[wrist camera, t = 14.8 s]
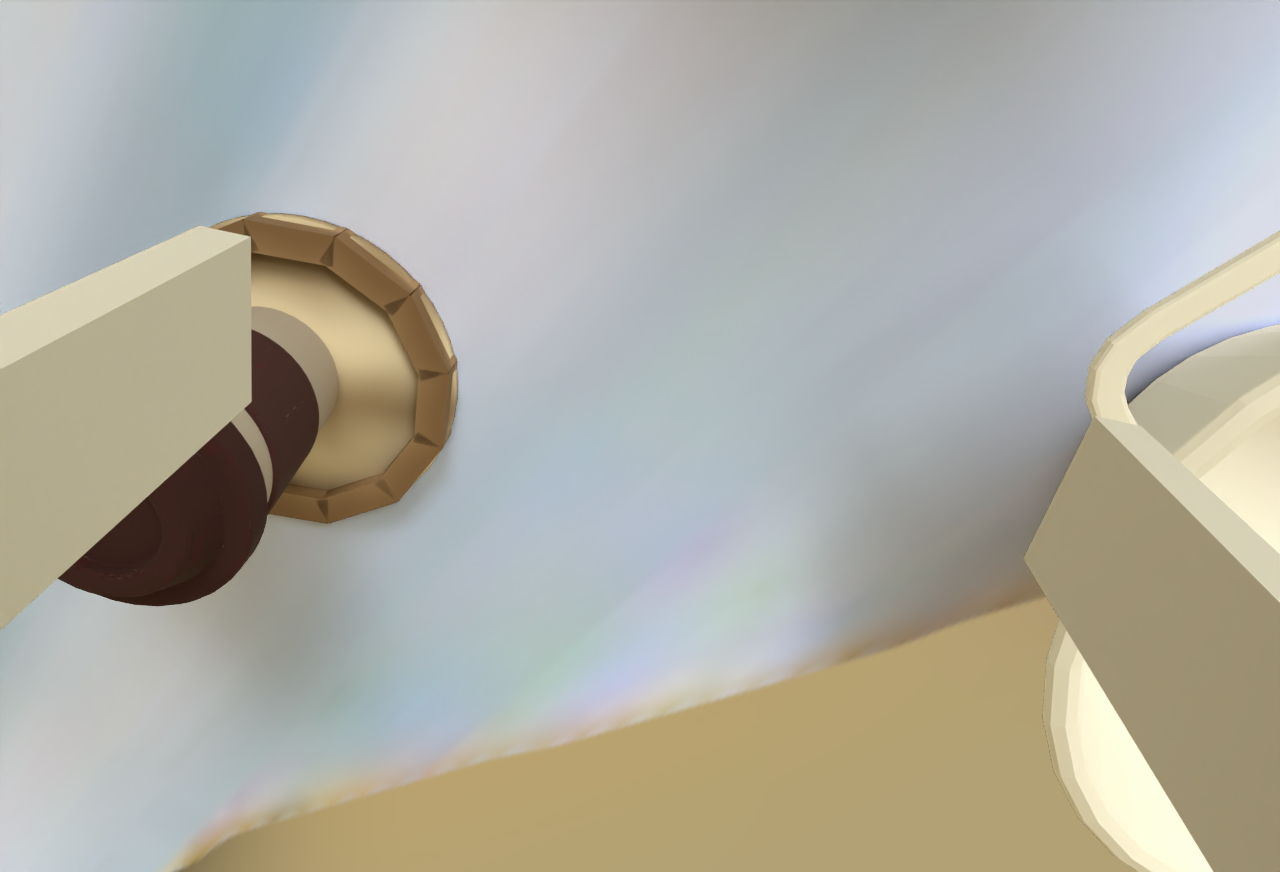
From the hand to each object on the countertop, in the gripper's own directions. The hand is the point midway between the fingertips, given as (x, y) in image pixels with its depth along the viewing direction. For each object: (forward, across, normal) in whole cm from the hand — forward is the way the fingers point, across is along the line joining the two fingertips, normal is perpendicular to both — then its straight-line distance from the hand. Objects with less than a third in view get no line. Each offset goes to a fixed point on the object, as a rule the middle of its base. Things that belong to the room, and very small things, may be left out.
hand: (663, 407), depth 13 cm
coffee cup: (+28, -18, -15) cm, 37 cm away
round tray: (+29, -17, -15) cm, 37 cm away
